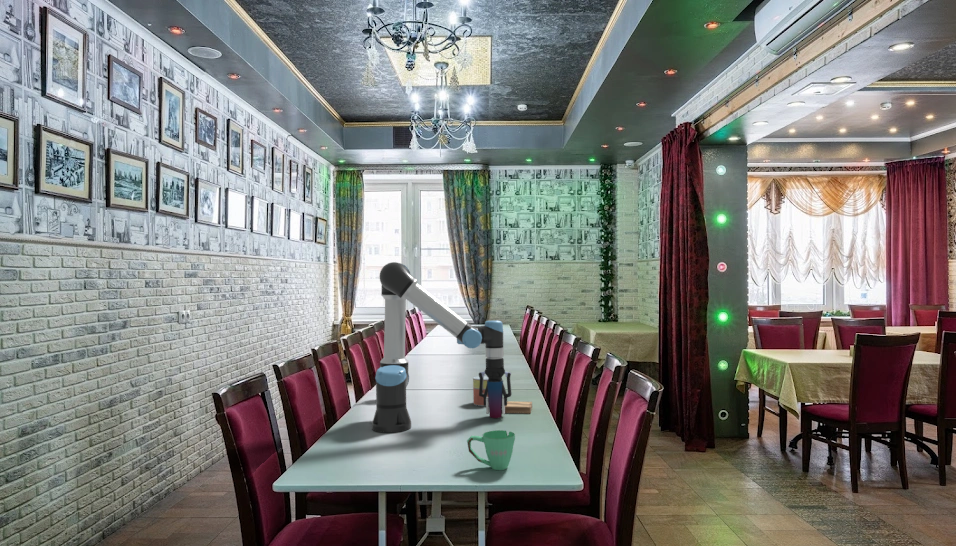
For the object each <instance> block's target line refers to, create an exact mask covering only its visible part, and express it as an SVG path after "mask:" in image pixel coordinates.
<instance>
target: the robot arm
mask: <svg viewBox="0 0 956 546" xmlns="http://www.w3.org/2000/svg"><path fill="white" fill-rule="evenodd" d="M378 277H379V282H380V284H381V294H380V295H381V296H382V298H383V299H384V332H383V333H384V336H383V337H384V338H383V340H384V341H383V342H384V343H383V358H381V360H380V361H379V368H377V370H376V372H375V377H374V379H375V394H376V395H375V398H376V401H375V404H376V407H375V412H374V415H373V419H372V421H371V422H372V423H371V428H372V430H373V432H378V433H387V434H388V433H389V434H390V433H400V432H404V431H408V430H411V428H412V419H411V417H410V413H409V410H408V407H407V387H408V384H409V383H410V382H409V381H410V374H409V360H408V359H407V358H406V319H407V318H406V316H407V315H406V313H407V311H406V308H407V301H408V302H409V303H411V304H412V305H414V307H416V308H417V309H419V310H420V311H421V312H422V313H424V314H425V315H426V316H428V317H429V318H430V319H431V320H433V322H435V323H437V325H439V326H440V327H442V328H443V329H444V330H446V331H447V332H448V333H449V334H451V335H452V336H453V337H455V338H456V343H457V344H458V345H463V346H465V347H466V348H468V349H475V348H478V347H479V346H480V345H484V344H485V348H484V349H485V351H484V352H485V357H486V358H485V370H484V371H479V373H478V376H479V377H480V386H479V396H481V397H483V398H484V405H485V406H484V407H485V408H486V410H485V411H486V412H485V413H486V415H489V401H488V397H487V394H488V386H486V389H485V392H484V393H483V377H484V376H487V377H488V381H489V382H491V381H492V380H497V381H498V382H501V381H502V380H503V376H504V375H505V377H506V384H507V385H506V386H507V390H506V387H505V384H504V383H503V384H502V393H503V398H502V415H505V414H506V413H505V406H507V401H508V398H510V397H512V386H511V385H512V384H511V383H512V382H511V375H512V372H511V371H506V370H505V366H504V365H505V364H504V363H505V362H504V361H505V359H504V324H503V321H501V320H486V321H485V322H484V325H472V324H470V323H469V322H468V321H467V320H465V319H464V318H462V316H460V315H458V314H457V313H456V312H455V311H454V310H452V309H451V308H450V307H448V305H446V304H445V303H443V302H442V301H440V300H439V299H438V298H437V297H435V295H433V294H432V293H431V292H429V291H428V290H427V289H425V288H424V287H423V286H422V285H420V284H419V283H418V279H416V277H414V276H413V275H412V274H411V272H410V269H409V268H408V266H407V265H405V264H403V263H401V262H396V261H395V262H394V261H393V262H388V263H387V264H385V265H383V267H382V268H381V269H380V271H379V276H378Z"/></svg>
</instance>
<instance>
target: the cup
mask: <svg viewBox="0 0 956 546" xmlns="http://www.w3.org/2000/svg"><path fill="white" fill-rule="evenodd" d="M502 384H504V380H503V379H502V381H501V382H498V381H497V380H492V381H491V382H489V381H488V380H487V386H488V401H489V413H488V415H489V418H491V419H500V418H502V416H503V414H502V398H503V397H504V396H503V393H502Z"/></svg>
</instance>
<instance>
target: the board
mask: <svg viewBox="0 0 956 546" xmlns="http://www.w3.org/2000/svg"><path fill="white" fill-rule="evenodd" d="M532 410H533V401H510V400H509V401H508V400H507V406H505V414H531V413H532Z"/></svg>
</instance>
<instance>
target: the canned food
mask: <svg viewBox="0 0 956 546" xmlns="http://www.w3.org/2000/svg"><path fill="white" fill-rule="evenodd" d="M487 380H488V377H487V375H485V376H484V377H483V393H484V392H485V389H486V386H487ZM479 386H480V377H479V375H476V376H473V377H472V387H473V388H472V389H473V393H472V394H473V405H474V404H475V406H477V405H478V406H479V407H486V406H485V405H484V398H483V397H481V396H479ZM487 397H488V394H487Z"/></svg>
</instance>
